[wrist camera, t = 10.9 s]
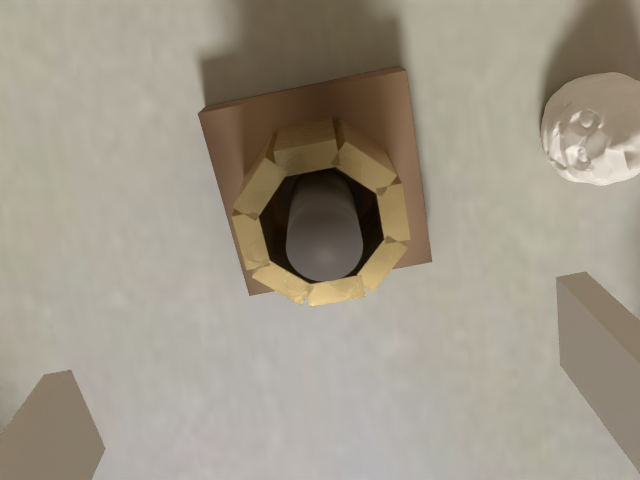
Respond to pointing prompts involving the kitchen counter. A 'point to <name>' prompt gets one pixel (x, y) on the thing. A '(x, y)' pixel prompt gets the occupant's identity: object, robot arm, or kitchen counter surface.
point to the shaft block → (327, 184)
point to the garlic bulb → (594, 129)
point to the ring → (270, 235)
